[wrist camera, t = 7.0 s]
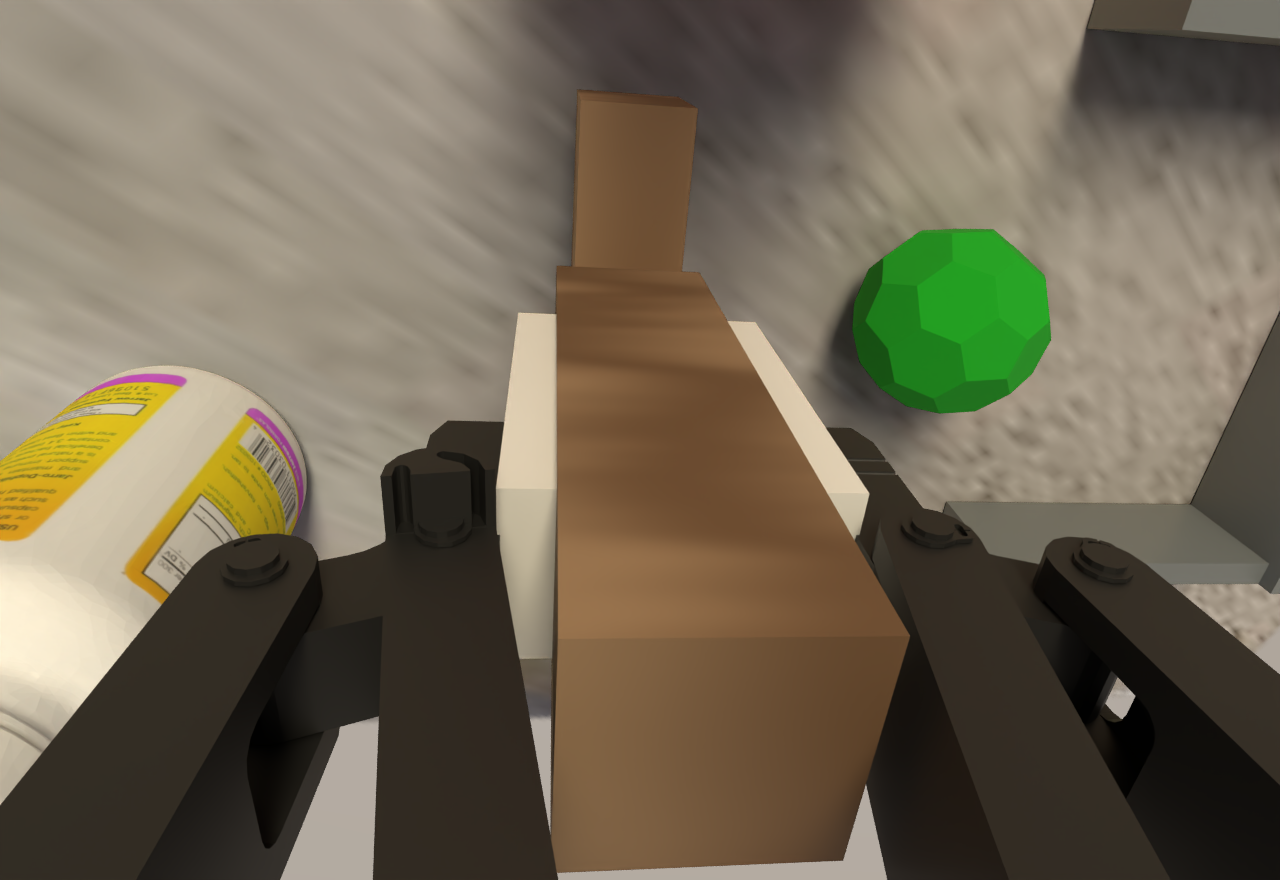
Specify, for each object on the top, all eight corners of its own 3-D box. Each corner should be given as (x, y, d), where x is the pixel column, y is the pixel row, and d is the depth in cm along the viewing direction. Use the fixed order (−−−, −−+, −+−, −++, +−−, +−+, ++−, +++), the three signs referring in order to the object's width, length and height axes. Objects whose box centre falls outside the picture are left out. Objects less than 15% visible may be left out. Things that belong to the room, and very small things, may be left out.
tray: (940, 521, 27) (997, 594, 24) (1097, -7, 20) (1213, -14, 16) (1202, 523, 29) (1293, 593, 25) (1441, 25, 21) (1618, 26, 18)
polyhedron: (796, 316, 23) (851, 380, 19) (910, 172, 22) (996, 208, 18) (914, 398, 25) (988, 474, 21) (1027, 271, 23) (1133, 325, 19)
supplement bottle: (42, 487, 24) (-431, 916, 12) (126, 312, 21) (-353, 637, 10) (258, 582, 26) (28, 1017, 15) (354, 434, 24) (171, 808, 12)
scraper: (550, 460, 23) (544, 1045, 10) (560, 88, 18) (572, 246, 5) (659, 462, 23) (792, 1028, 10) (694, 98, 19) (1020, 269, 6)
